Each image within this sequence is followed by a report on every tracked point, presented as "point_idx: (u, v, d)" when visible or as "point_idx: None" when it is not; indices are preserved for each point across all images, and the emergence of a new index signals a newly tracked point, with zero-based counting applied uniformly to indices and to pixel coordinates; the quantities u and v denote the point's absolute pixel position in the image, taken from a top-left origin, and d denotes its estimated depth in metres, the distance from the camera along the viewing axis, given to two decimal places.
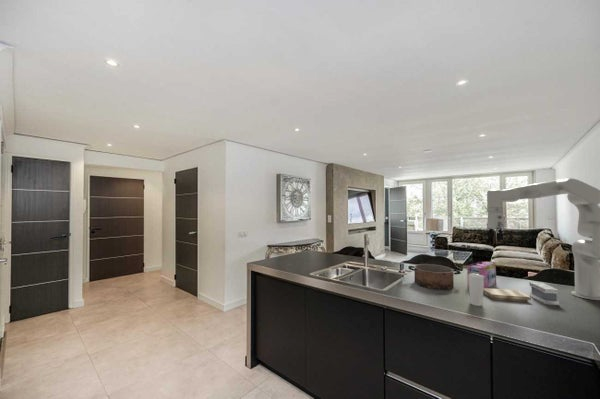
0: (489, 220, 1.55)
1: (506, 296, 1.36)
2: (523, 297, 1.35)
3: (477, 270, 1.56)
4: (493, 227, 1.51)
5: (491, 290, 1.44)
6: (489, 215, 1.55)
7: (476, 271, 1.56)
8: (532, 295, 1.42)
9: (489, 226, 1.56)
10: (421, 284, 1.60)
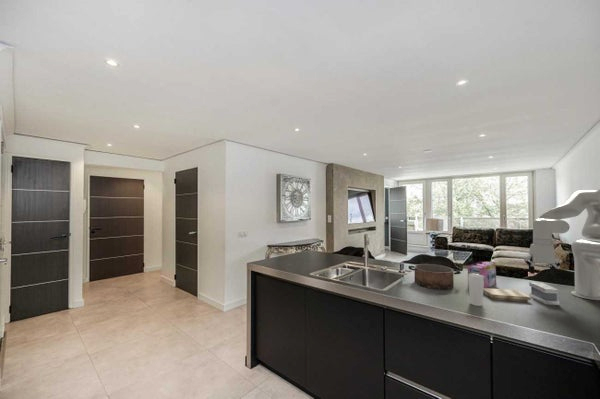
0: (542, 254, 1.36)
1: (506, 296, 1.36)
2: (523, 297, 1.35)
3: (477, 270, 1.55)
4: (550, 262, 1.35)
5: (491, 290, 1.44)
6: (543, 248, 1.36)
7: (476, 271, 1.56)
8: (532, 295, 1.42)
9: (540, 261, 1.36)
10: (421, 284, 1.60)
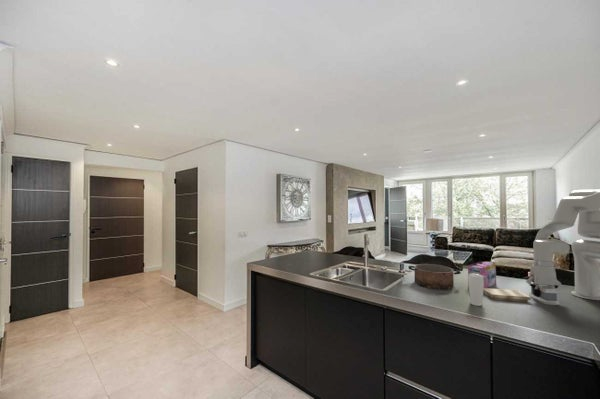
0: (543, 275, 1.35)
1: (506, 296, 1.36)
2: (523, 297, 1.35)
3: (478, 270, 1.55)
4: (551, 283, 1.35)
5: (491, 290, 1.44)
6: (544, 270, 1.35)
7: (477, 271, 1.56)
8: (532, 295, 1.42)
9: (541, 282, 1.36)
10: (421, 284, 1.60)
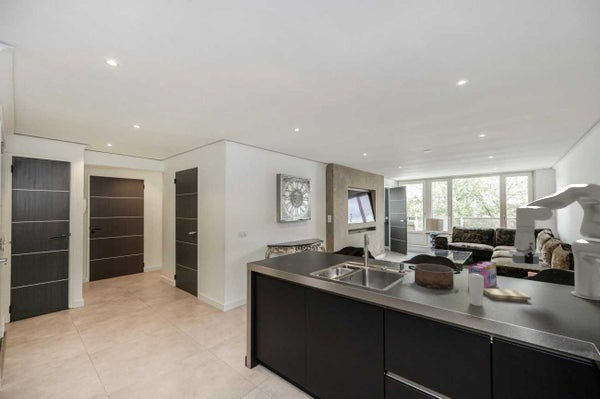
0: None
1: (506, 296, 1.36)
2: (523, 297, 1.35)
3: (478, 270, 1.55)
4: None
5: (491, 290, 1.44)
6: None
7: (477, 271, 1.55)
8: (521, 264, 1.37)
9: None
10: (421, 284, 1.61)
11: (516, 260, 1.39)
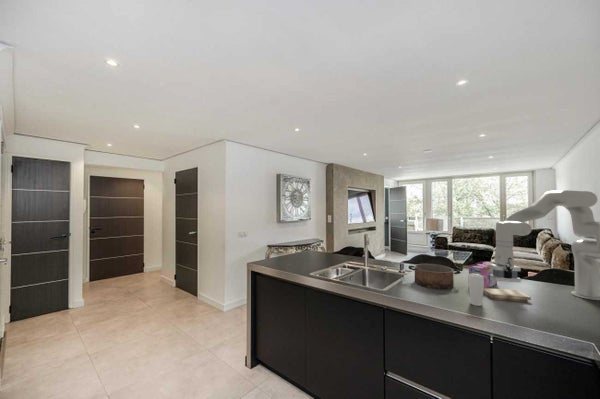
0: None
1: (506, 296, 1.36)
2: (523, 297, 1.35)
3: (478, 270, 1.55)
4: None
5: (491, 290, 1.44)
6: None
7: (477, 271, 1.55)
8: (500, 278, 1.39)
9: None
10: (421, 284, 1.61)
11: (496, 275, 1.42)
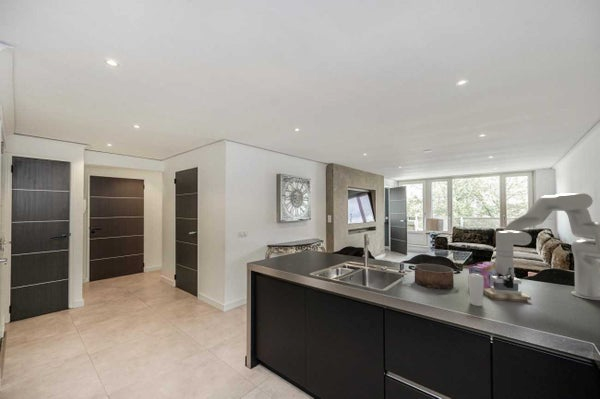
0: None
1: (506, 296, 1.36)
2: (523, 297, 1.35)
3: (479, 270, 1.55)
4: None
5: None
6: None
7: (478, 271, 1.55)
8: (500, 291, 1.39)
9: None
10: (421, 284, 1.61)
11: (497, 287, 1.41)
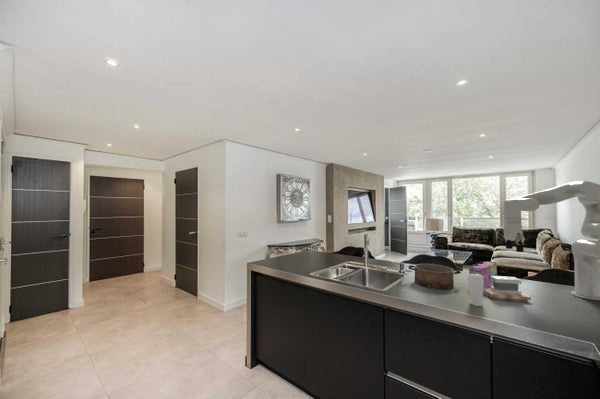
0: None
1: (506, 296, 1.36)
2: (523, 297, 1.35)
3: (479, 270, 1.54)
4: None
5: None
6: None
7: (478, 271, 1.55)
8: (500, 291, 1.39)
9: None
10: (421, 284, 1.61)
11: (497, 287, 1.41)
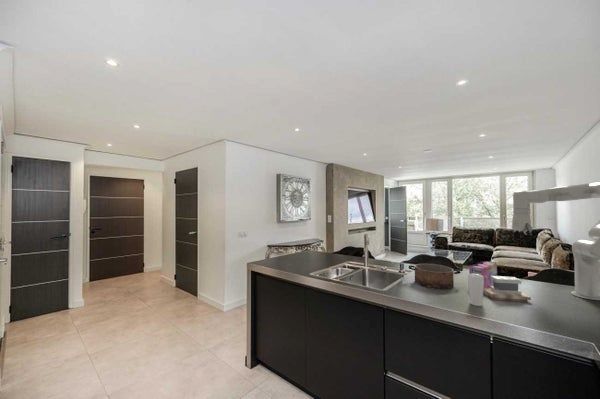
0: None
1: (506, 296, 1.36)
2: (523, 297, 1.35)
3: (479, 270, 1.54)
4: None
5: None
6: None
7: (478, 271, 1.55)
8: (500, 291, 1.39)
9: None
10: (421, 283, 1.61)
11: (497, 287, 1.41)
